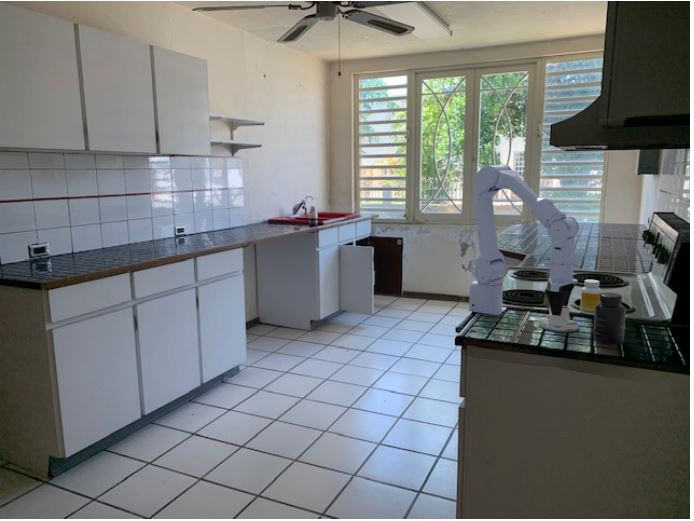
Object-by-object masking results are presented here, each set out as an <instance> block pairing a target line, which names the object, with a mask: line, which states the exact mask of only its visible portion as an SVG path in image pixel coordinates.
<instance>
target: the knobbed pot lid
mask: <svg viewBox="0 0 694 521" xmlns="http://www.w3.org/2000/svg"><path fill="white" fill-rule="evenodd" d="M548 318H549V317H544V318H540V319H539V320H538V327H539V328H541V329H543V330H546V331H549V332H554V333H573V332H577V331H578V330H579V323H578V322H577V321H575V320H573V319H569V322H568V324H567V325H566V326H559V325H553V324H548Z"/></svg>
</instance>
